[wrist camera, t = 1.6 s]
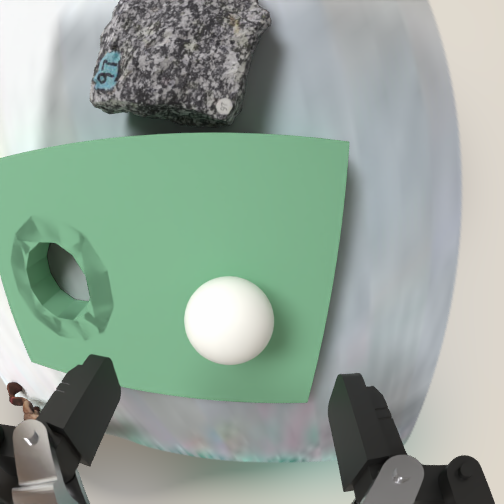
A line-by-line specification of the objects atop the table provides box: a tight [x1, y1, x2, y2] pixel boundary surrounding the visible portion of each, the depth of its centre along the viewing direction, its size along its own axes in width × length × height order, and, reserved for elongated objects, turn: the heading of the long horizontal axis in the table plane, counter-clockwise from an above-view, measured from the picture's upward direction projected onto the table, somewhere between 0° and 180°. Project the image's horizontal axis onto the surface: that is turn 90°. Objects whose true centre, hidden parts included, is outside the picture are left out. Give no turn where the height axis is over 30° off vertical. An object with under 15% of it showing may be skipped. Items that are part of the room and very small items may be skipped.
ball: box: [184, 276, 274, 365], centre depth 13 cm, size 4×4×4 cm
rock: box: [90, 0, 271, 127], centre depth 11 cm, size 8×10×4 cm
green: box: [0, 133, 349, 403], centre depth 16 cm, size 16×22×2 cm
